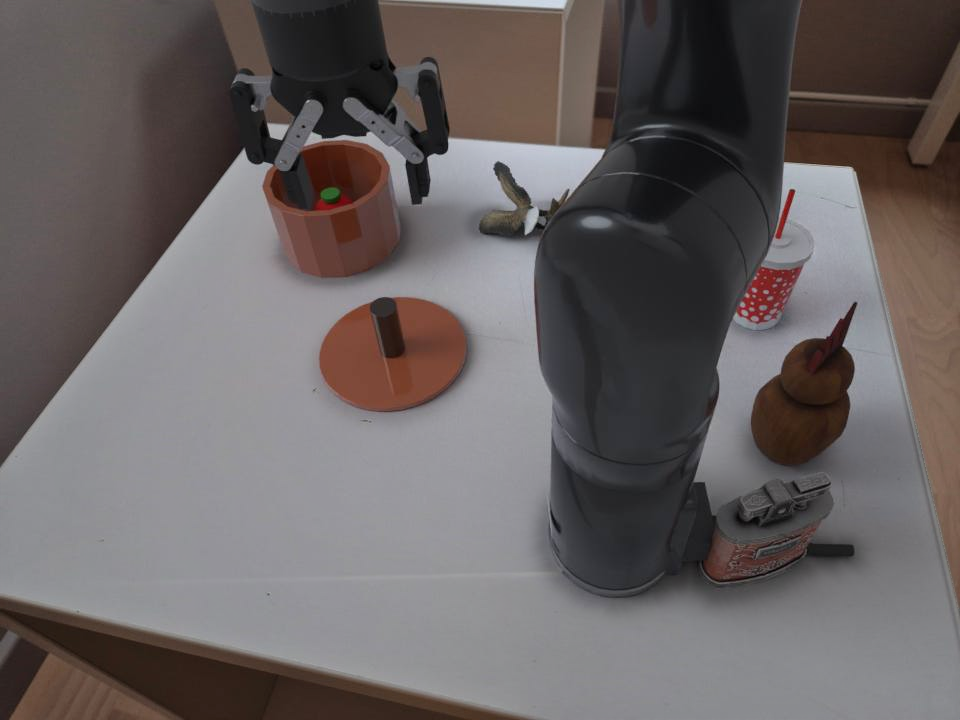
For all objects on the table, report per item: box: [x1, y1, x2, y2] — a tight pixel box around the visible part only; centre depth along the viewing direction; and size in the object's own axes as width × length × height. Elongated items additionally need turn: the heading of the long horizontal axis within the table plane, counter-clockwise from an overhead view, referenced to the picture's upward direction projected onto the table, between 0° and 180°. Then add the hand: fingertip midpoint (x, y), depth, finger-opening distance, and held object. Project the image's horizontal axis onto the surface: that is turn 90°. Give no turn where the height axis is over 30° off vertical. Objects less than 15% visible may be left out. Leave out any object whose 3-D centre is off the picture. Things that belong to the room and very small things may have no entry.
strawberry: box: [315, 187, 352, 211], centre depth 79 cm, size 4×4×6 cm
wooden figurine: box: [749, 301, 858, 466], centre depth 55 cm, size 7×6×15 cm
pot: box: [261, 139, 402, 279], centre depth 78 cm, size 13×13×8 cm
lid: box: [318, 296, 467, 412], centre depth 67 cm, size 14×14×7 cm
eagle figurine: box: [478, 160, 571, 236], centre depth 79 cm, size 8×7×9 cm
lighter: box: [697, 471, 835, 590], centre depth 51 cm, size 8×3×10 cm, turn 106°
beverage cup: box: [732, 188, 816, 331], centre depth 66 cm, size 6×6×14 cm
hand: (362, 201), depth 57 cm, fingers open, 8 cm apart
